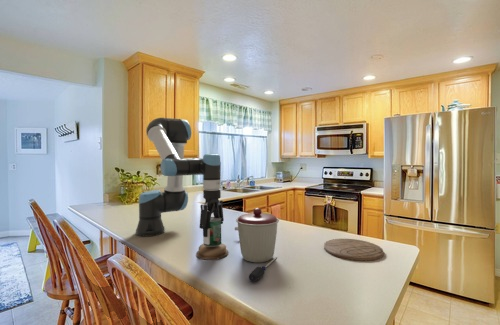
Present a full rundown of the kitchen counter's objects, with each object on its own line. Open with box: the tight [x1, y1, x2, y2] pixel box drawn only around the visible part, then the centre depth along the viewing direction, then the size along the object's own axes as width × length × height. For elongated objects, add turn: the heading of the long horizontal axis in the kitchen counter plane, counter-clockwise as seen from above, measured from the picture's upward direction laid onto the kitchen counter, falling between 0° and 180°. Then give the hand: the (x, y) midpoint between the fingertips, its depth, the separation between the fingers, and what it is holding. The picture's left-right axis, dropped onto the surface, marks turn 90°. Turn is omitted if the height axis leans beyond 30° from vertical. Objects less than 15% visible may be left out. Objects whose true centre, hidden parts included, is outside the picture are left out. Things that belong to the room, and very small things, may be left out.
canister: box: [235, 207, 280, 264], centre depth 111 cm, size 18×18×21 cm
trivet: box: [323, 238, 384, 262], centre depth 120 cm, size 25×25×2 cm
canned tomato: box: [202, 216, 222, 247], centre depth 117 cm, size 8×8×11 cm
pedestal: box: [195, 242, 229, 261], centre depth 117 cm, size 14×14×3 cm
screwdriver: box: [248, 257, 278, 283], centre depth 100 cm, size 26×4×4 cm, turn 156°
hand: (212, 240), depth 117 cm, fingers closed on canned tomato, 8 cm apart
